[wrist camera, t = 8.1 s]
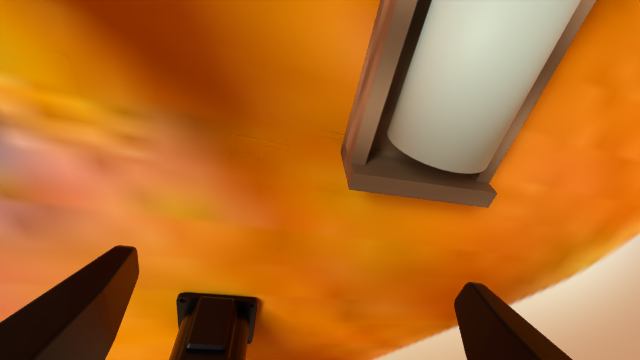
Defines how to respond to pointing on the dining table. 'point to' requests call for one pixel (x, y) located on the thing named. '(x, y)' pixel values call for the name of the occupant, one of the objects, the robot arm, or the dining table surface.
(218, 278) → the dining table surface
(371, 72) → the tray
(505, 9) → the roll
